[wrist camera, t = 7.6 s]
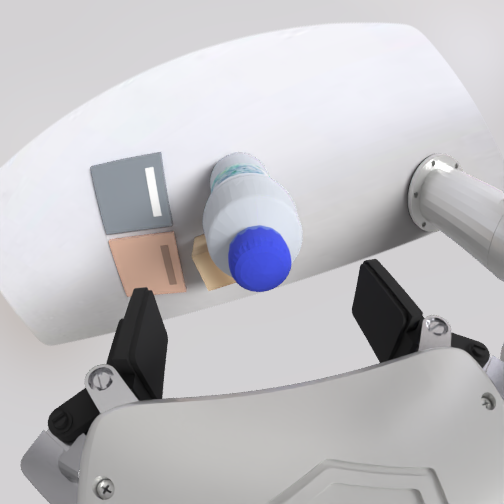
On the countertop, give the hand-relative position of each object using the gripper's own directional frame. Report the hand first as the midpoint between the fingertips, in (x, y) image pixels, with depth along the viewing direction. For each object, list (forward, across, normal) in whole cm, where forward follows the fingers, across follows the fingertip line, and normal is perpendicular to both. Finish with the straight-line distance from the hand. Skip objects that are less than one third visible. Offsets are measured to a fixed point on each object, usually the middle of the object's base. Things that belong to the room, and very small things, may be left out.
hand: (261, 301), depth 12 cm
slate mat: (+22, +12, +1) cm, 26 cm away
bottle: (+22, -1, 0) cm, 22 cm away
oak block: (+22, +2, +9) cm, 24 cm away
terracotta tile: (+22, +12, +11) cm, 28 cm away
